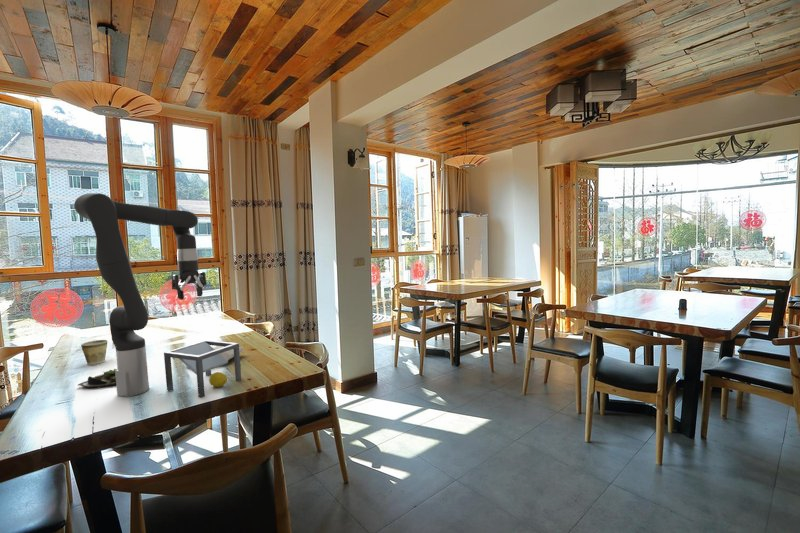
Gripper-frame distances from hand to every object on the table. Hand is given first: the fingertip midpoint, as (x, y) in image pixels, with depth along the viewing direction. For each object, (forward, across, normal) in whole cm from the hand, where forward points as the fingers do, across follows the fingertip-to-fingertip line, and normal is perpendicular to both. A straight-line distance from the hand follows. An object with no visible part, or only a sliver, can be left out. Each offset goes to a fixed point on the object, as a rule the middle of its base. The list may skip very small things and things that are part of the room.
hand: (190, 297), depth 161 cm
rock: (+34, +15, +5) cm, 37 cm away
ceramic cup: (+33, -3, +66) cm, 74 cm away
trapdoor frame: (+33, -8, -15) cm, 37 cm away
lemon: (+30, -7, -17) cm, 36 cm away
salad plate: (+34, -18, +29) cm, 48 cm away
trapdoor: (+22, -8, -14) cm, 27 cm away
